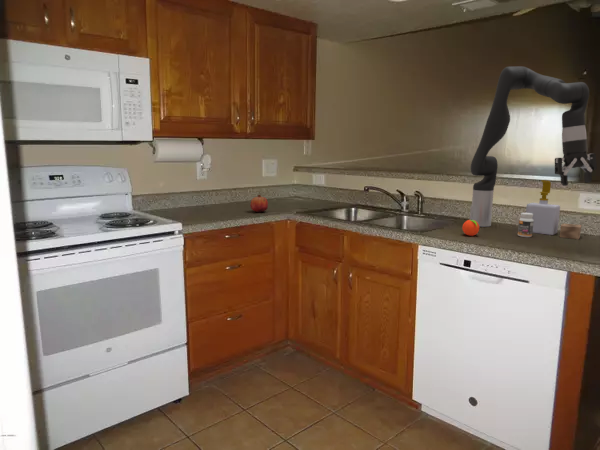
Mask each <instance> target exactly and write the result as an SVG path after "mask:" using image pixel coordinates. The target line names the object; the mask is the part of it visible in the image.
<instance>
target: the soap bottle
mask: <svg viewBox="0 0 600 450" xmlns="http://www.w3.org/2000/svg"><path fill="white" fill-rule="evenodd" d="M540 182H541V183H542V187H541V188H542V189H541V191H540V192H539V194H540V196H541V198H539V202H531V203H527V204H526V208H525V213H532V214H533V217H532V219H533V220H534V223H533V232H532V234H540V235H541V234H542V235H548V236H554V235H556V234H558V231H559V220H560V213H561V205H560V204H552V203H549V198H547V196H549V194H550V193H551V187H552V183H551V181H550V180H546V179H545V180H541V181H540Z"/></svg>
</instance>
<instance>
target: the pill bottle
mask: <svg viewBox="0 0 600 450" xmlns="http://www.w3.org/2000/svg"><path fill="white" fill-rule="evenodd" d="M532 217H533V214H532V213H526V212H521V213H520V218H519V219H518V226H517V236H519V237H521V238H531V237H533V233H532V232H533V223H534V220H533V219H532Z"/></svg>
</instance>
